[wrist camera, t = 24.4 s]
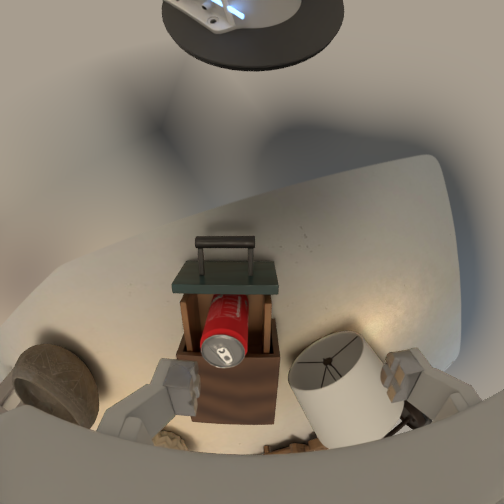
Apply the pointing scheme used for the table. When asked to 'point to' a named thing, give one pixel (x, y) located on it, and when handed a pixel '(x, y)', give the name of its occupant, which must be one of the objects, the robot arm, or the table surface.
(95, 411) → the bowl
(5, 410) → the cabinet
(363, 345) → the light fixture
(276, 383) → the cabinet
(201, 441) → the table surface
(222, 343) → the beverage can
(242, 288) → the drawer
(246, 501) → the robot arm
